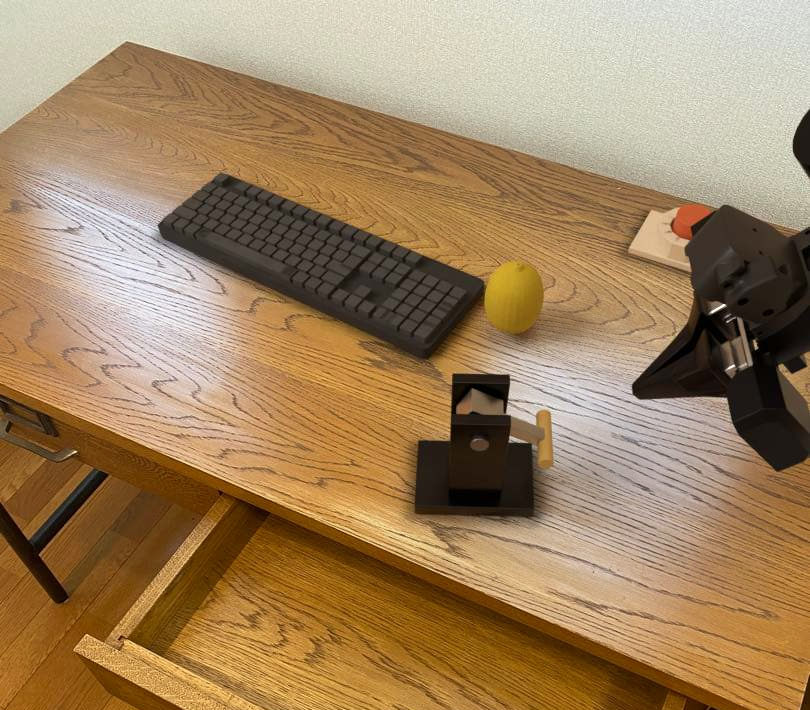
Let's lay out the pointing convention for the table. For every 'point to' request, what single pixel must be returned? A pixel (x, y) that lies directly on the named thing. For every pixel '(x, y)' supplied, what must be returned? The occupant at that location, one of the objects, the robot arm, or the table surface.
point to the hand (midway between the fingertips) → (634, 392)
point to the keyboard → (325, 263)
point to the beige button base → (661, 241)
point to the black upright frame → (476, 460)
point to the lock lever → (514, 423)
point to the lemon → (514, 297)
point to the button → (688, 219)
